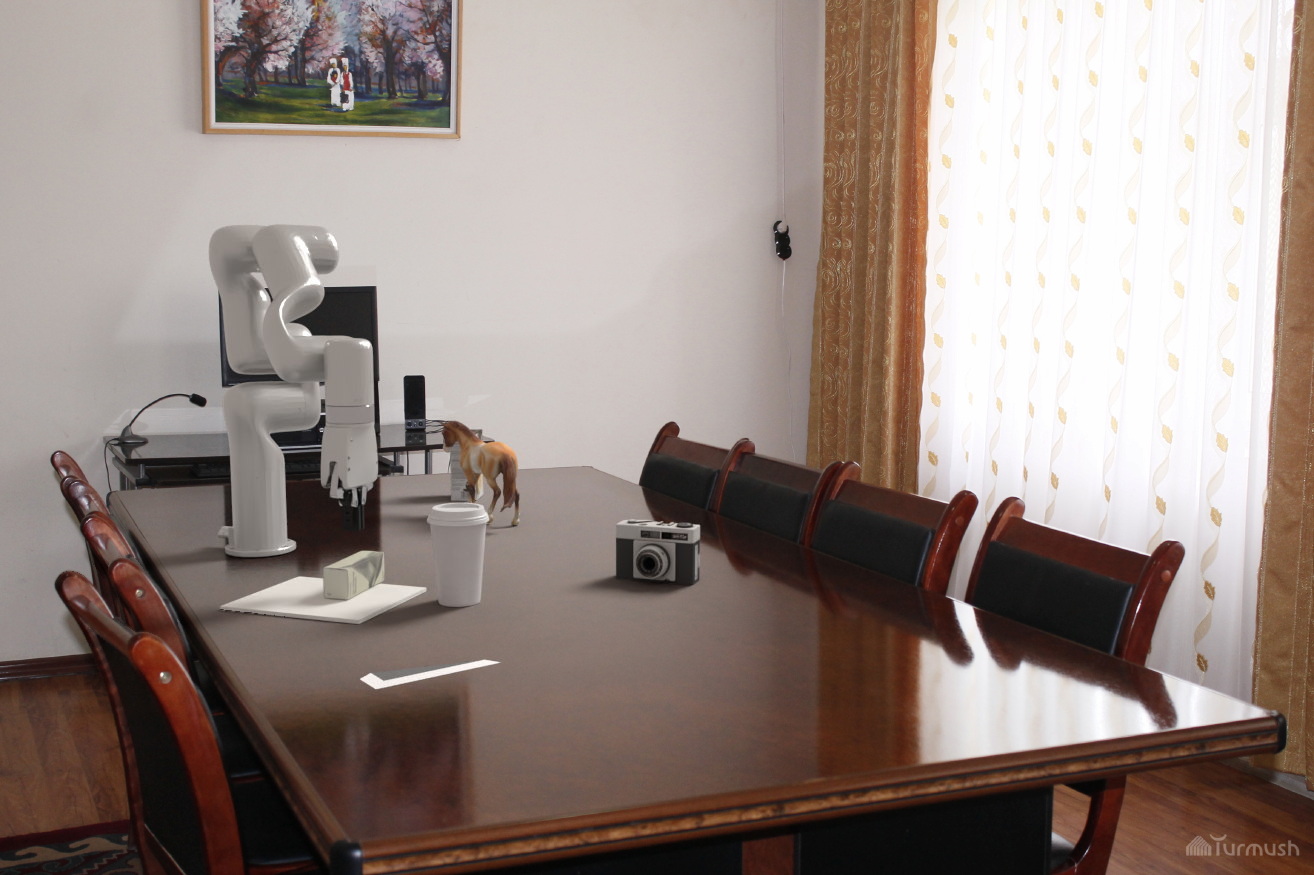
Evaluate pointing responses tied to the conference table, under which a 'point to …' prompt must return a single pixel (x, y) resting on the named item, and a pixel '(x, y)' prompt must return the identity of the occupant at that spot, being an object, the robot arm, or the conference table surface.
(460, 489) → the coffee box
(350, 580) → the box
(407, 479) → the conference table surface
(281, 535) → the robot arm
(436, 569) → the coffee cup
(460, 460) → the horse figurine
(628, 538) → the camera
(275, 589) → the mat
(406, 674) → the white l-shaped strip
